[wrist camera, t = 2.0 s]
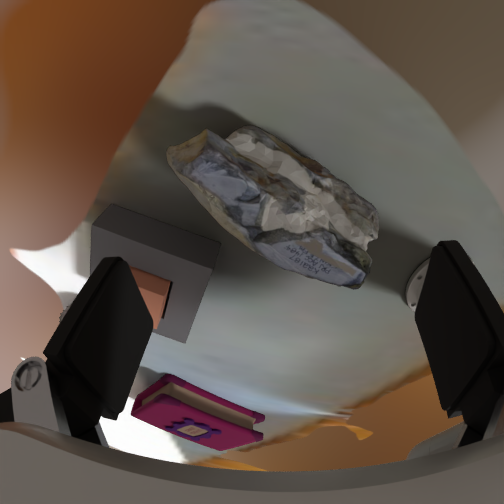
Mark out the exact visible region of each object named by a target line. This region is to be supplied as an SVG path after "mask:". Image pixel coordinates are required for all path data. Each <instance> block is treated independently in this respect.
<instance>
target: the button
mask: <svg viewBox="0 0 504 504" xmlns="http://www.w3.org/2000/svg"><path fill="white" fill-rule="evenodd" d="M129 267H130V269H131V272H132V274H133V276H134V279H135V281H136V283H137V286H138V288H139V290H140V292H141V295H142V297H143V299H144V301H145V304H146V306H147V308H148V310H149V312H150V314H151V316H152V319H153V323H154V326H153V328H154V329H157V327H158V324H159V322H160V319H161V317H162V314H163V310H164V306H165V302H166V298H167V294H168V290H169V286H170V282H171V281H170V280H167V279H164V278H162V277H159V276H156V275H153V274H151V273H148V272H145V271H143V270H140V269H138V268H135V267H132V266H130V265H129Z"/></svg>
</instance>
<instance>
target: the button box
mask: <svg viewBox="0 0 504 504" xmlns="http://www.w3.org/2000/svg"><path fill="white" fill-rule="evenodd" d="M220 245H221V243H218V242H216V241H213V240H210V239H207V238H205V237H202V236H199V235H196V234H193V233H191V232H188V231H185V230H182V229H180V228H177V227H174V226H171V225H169V224H166V223H163V222H160V221H157V220H155V219H152V218H149V217H146V216H144V215H141V214H138V213H135V212H133V211H130V210H127V209H124V208H122V207H119V206H116V205H113V204H111V205H110V206H109V207H108V208H107V209H106V210H105V211H104V212H103V213H102V214H101V215H100V216H99V217H98V218H97V219H96V221H95V222H94V223H93V224H92V230H91V256H90V276H91V274H92V273H93V271H94V270H95V269H96V267H97V266H98V264H99V263H100V261H101V260H102V259H103V258H105V257H117V256H119V257H121V258H123V260H124V261H126V262H127V263H128V264H129V265H130V266H132V267H135V268H138V269H140V270H143V271H145V272H148V273H151V274H153V275H156V276H159V277H162V278H164V279H167V280H170V281H171V282H170V286H169V290H168V294H167V298H166V302H165V306H164V310H163V314H162V317H161V319H160V322H159V324H158V327H157V329H154V328H153V331H152V332H154V333H157V334H159V335H162V336H165V337H168V338H171V339H173V340H176V341H179V342H182V343H186V340H187V338H188V335H189V332H190V329H191V327H192V324H193V321H194V319H195V316H196V313H197V311H198V308H199V305H200V303H201V300H202V297H203V295H204V292H205V289H206V287H207V284H208V281H209V279H210V276H211V274H212V271H213V268H214V265H215V261H216V258H217V255H218V252H219V248H220Z"/></svg>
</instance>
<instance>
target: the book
mask: <svg viewBox="0 0 504 504" xmlns="http://www.w3.org/2000/svg"><path fill="white" fill-rule="evenodd" d="M131 416H133V417H135V418H138V419H140V420H142V421H144V422H146V423H149V424H151V425H153V426H155V427H158V428H160V429H162V430H165V431H167V432H170V433H172V434H175V435H177V436H180V437H182V438H185V439H187V440H190V441H193V442H196V443H198V444H201V445H204V446H207V447H210V448H213V449H216V450H219V451H223V450H227V449H231V448H234V447H238V446H242V445H245V444H249V443H252V442H258V441H261V440H263V433H261V432H258V431H255V430H253V424H256V423H260V422H263V421H264V420H265V415H263V414H261V413H258V412H254V411H252V410H249V409H247V408H244V407H242V406H239V405H237V404H235V403H232V402H230V401H228V400H225V399H223V398H221V397H218V396H216V395H214V394H212V393H209V392H207V391H205V390H203V389H201V388H199V387H197V386H194V385H192V384H190V383H188V382H186V381H185V380H183V379H181V378H179V377H177V376H175V375H172V374H165V375H164V376H163V377H161V378H160V380H158V381H157V382H156V383H154V384H153V385H151V386H150V387H149V388H147V389H146V390H145V391H143V392H142V393H140V394H139V395H138V396H137V397H136V399H135V402H134V404H133V407H132V411H131Z"/></svg>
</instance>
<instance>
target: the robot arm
mask: <svg viewBox="0 0 504 504" xmlns="http://www.w3.org/2000/svg"><path fill="white" fill-rule="evenodd" d="M406 300H407V303H408V305H409V307H410V309H411V310H412V311H413V312H415V321H416V324H417V327H418V330H419V333H420V336H421V339H422V342H423V345H424V348H425V351H426V354H427V358H428V361H429V364H430V367H431V371H432V374H433V378H434V381H435V385H436V389H437V392H438V396H439V400H440V404H441V407H442V409H443V410H446V411H447V415H448V418H452V417H456V416H460V415H463V419H464V421H463V422H461V423H460V424H457V425H455V426H453V427H451V428H449V429H447V430H445V431H443V432H441V433H439V434H437V435H435V436H433V437H430V438H429V439H426V440H424V441H422V442H421V443H419V444H418V445H416V446H415V447H414V448H413V449H412V450H411V451H410V453H409V454H408V457H407V459H406V460H404V461H399V462H393V463H387V464H380V465H374V466H366V467H358V468H349V469H338V470H325V471H301V472H267V471H244V470H230V469H219V468H210V467H202V466H194V465H187V464H181V463H175V462H169V461H163V460H158V459H153V458H148V457H144V456H139V455H135V454H131V453H127V452H123V451H119V450H115V449H111V448H109V446H108V443H107V441H106V438H105V436H104V433H103V431H102V428H101V425H100V423H99V420H100V417H101V416H102V417H104V418H108V419H112V420H117V418H118V415H119V413H121V412H122V411H123V410H124V407H125V404H126V401H127V398H128V396H129V393H130V390H131V387H132V384H133V381H134V379H135V376H136V373H137V370H138V368H139V365H140V362H141V359H142V357H143V354H144V351H145V349H146V346H147V344H148V341H149V338H150V336H151V333H152V331H153V326H154V323H153V319H152V316H151V314H150V312H149V310H148V308H147V306H146V304H145V301H144V299H143V297H142V295H141V292H140V290H139V288H138V286H137V283H136V281H135V279H134V276H133V274H132V272H131V269H130V267H129V264H128V263H127V262H126V261H124V260H123V258H121V257H119V256H117V257H105V258H103V259H102V260H101V261H100V263H99V264H98V266H97V267H96V269H95V270H94V271H93V273H92V274H91V276H90V277H89V279H88V280H87V282H86V283H85V285H84V286H83V288H82V289H81V291H80V292H79V294H78V295H77V297H76V298H75V300H74V301H73V303H72V305H71V306H70V308H69V309H68V311H67V313H66V314H65V316H64V317H63V319H62V321H61V322H60V324H59V326H58V327H57V329H56V331H55V332H54V334H53V336H52V337H51V339H50V341H49V343H48V344H47V346H46V348H45V350H44V351H43V354H44V355H45V356H46V357H47V360H46V362H44V361H43V360H42V359H41V358H39V357H30V358H27V359H25V360H24V361H22V362H21V363H20V364H19V365H18V366H17V368H16V369H15V371H14V373H13V376H12V379H11V380H12V381H11V388H10V389H8V390H6V391H5V392H3V393H1V394H0V504H504V313H503V311H502V309H501V308H500V306H499V304H498V302H497V301H496V299H495V297H494V296H493V294H492V292H491V291H490V289H489V287H488V286H487V284H486V282H485V281H484V279H483V278H482V276H481V274H480V273H479V271H478V270H477V268H476V267H475V264H474V262H473V261H472V259H471V258H470V257H469V256H468V255H467V253H466V252H465V251H464V249H463V248H462V246H461V245H460V243H459V242H458V241H456V240H450V241H440V242H439V243H438V244H437V246H434V247H433V249H432V253H431V257H430V258H429V259H428V260H426V261H425V262H423V263H422V264H421V265H420V266H419V267H418V268H417V269H416V270H415V272H414V273H413V274H412V276H411V277H410V279H409V281H408V284H407V287H406Z"/></svg>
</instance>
